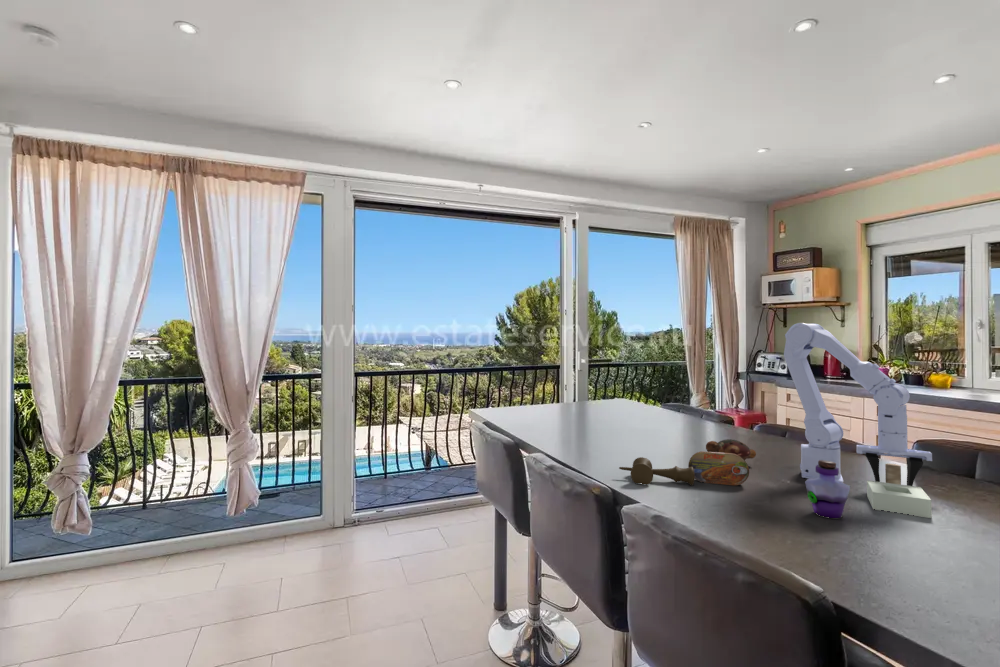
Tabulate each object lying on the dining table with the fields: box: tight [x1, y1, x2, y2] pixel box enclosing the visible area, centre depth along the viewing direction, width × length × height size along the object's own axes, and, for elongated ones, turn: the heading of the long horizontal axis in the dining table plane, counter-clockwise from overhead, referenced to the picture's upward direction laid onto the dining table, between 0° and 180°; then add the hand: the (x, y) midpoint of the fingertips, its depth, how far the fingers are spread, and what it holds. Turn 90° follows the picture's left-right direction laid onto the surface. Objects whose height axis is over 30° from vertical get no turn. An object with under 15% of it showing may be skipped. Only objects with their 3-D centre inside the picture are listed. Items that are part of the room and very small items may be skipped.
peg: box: [884, 463, 902, 485], centre depth 117 cm, size 3×3×7 cm
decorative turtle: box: [705, 439, 757, 461], centre depth 142 cm, size 10×15×8 cm, turn 96°
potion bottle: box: [804, 460, 851, 518], centre depth 103 cm, size 9×9×12 cm
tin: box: [687, 451, 750, 486], centre depth 126 cm, size 15×3×8 cm, turn 68°
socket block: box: [866, 479, 933, 519], centre depth 107 cm, size 10×10×4 cm
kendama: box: [618, 456, 696, 486], centre depth 128 cm, size 6×10×20 cm
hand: (893, 484), depth 117 cm, fingers open, 6 cm apart
